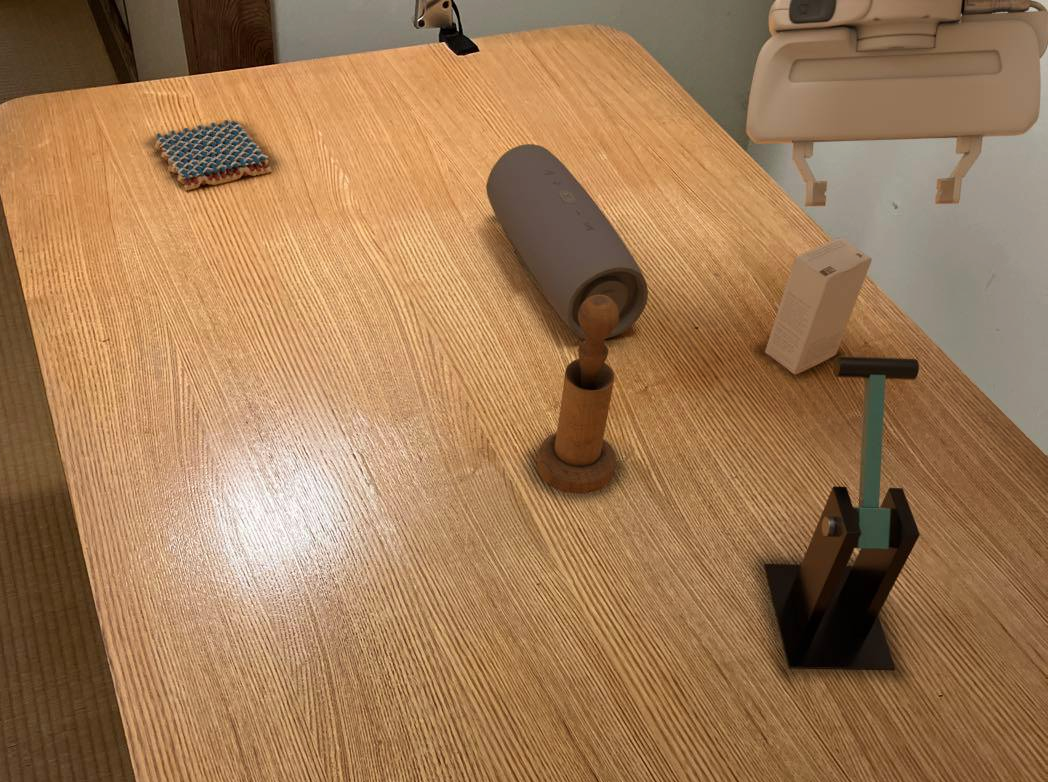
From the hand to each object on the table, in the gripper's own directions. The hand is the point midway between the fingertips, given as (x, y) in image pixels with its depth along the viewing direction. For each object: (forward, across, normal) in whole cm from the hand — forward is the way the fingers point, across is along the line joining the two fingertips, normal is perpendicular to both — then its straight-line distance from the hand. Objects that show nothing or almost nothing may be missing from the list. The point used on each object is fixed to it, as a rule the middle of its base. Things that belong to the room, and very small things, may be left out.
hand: (880, 205), depth 81 cm
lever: (+17, +1, +11) cm, 20 cm away
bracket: (+31, +3, +8) cm, 32 cm away
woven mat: (-6, +69, -31) cm, 76 cm away
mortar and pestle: (+22, +23, -1) cm, 32 cm away
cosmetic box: (+15, +4, -20) cm, 25 cm away
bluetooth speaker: (+7, +28, -24) cm, 38 cm away
